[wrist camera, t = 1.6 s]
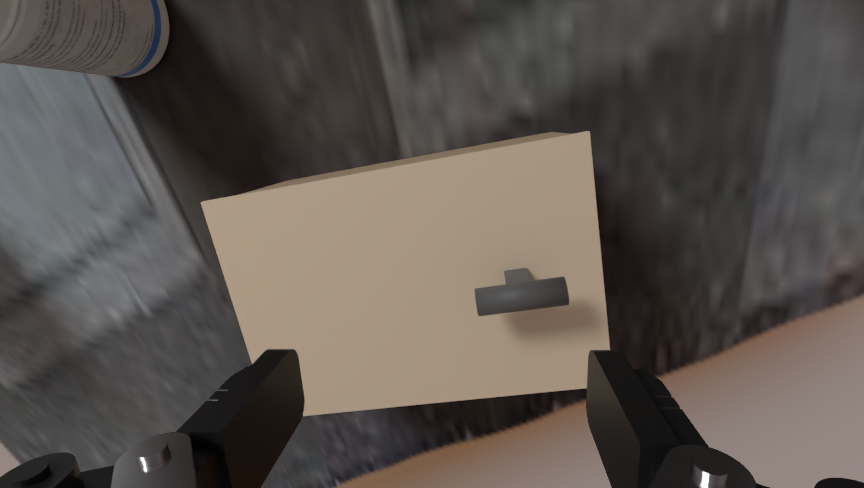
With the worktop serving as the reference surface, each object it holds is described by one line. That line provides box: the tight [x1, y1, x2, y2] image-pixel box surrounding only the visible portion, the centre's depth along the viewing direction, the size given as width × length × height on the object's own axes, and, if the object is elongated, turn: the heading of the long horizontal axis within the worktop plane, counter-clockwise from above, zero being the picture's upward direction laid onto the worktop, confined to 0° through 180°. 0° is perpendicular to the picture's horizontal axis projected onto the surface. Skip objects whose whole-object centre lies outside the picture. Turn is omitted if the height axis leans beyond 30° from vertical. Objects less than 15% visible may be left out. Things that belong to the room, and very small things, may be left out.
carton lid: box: [201, 131, 610, 416], centre depth 27 cm, size 24×16×4 cm
